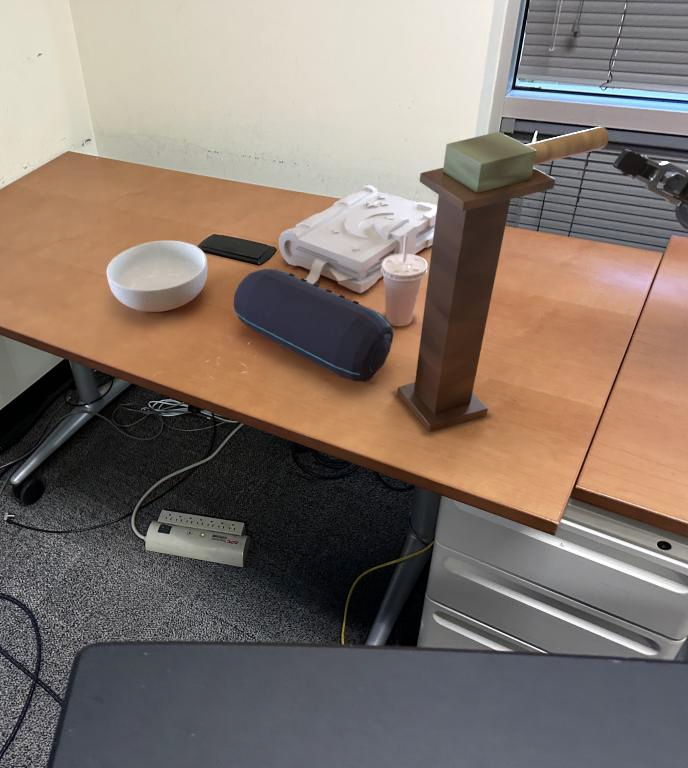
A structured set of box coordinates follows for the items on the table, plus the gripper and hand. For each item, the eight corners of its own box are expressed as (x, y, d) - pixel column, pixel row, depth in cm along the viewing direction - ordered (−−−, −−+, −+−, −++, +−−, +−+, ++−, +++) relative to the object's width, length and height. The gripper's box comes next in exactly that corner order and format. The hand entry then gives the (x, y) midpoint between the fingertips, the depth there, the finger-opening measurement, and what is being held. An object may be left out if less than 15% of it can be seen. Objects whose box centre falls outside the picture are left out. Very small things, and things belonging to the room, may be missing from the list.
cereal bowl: (230, 290, 117) (227, 254, 112) (163, 339, 108) (157, 302, 104) (160, 264, 127) (154, 230, 122) (93, 307, 118) (85, 271, 114)
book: (257, 272, 120) (255, 233, 115) (358, 212, 132) (360, 174, 128) (345, 311, 108) (347, 269, 103) (448, 241, 120) (453, 200, 115)
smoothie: (417, 306, 107) (426, 224, 98) (424, 330, 102) (435, 246, 93) (374, 308, 108) (380, 227, 99) (379, 332, 103) (386, 249, 94)
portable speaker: (404, 368, 96) (410, 308, 89) (358, 403, 91) (362, 343, 85) (272, 305, 112) (270, 251, 105) (228, 332, 107) (223, 278, 101)
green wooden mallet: (577, 139, 74) (584, 110, 72) (619, 157, 69) (628, 128, 67) (442, 171, 72) (446, 143, 70) (476, 193, 67) (481, 164, 65)
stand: (464, 374, 93) (505, 152, 74) (500, 411, 87) (555, 179, 67) (396, 393, 92) (420, 172, 72) (429, 432, 86) (464, 202, 66)
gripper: (759, 264, 78) (677, 228, 72) (659, 215, 89) (580, 179, 82) (813, 204, 75) (732, 160, 68) (702, 160, 86) (623, 118, 79)
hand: (649, 171), depth 75 cm, fingers open, 8 cm apart
